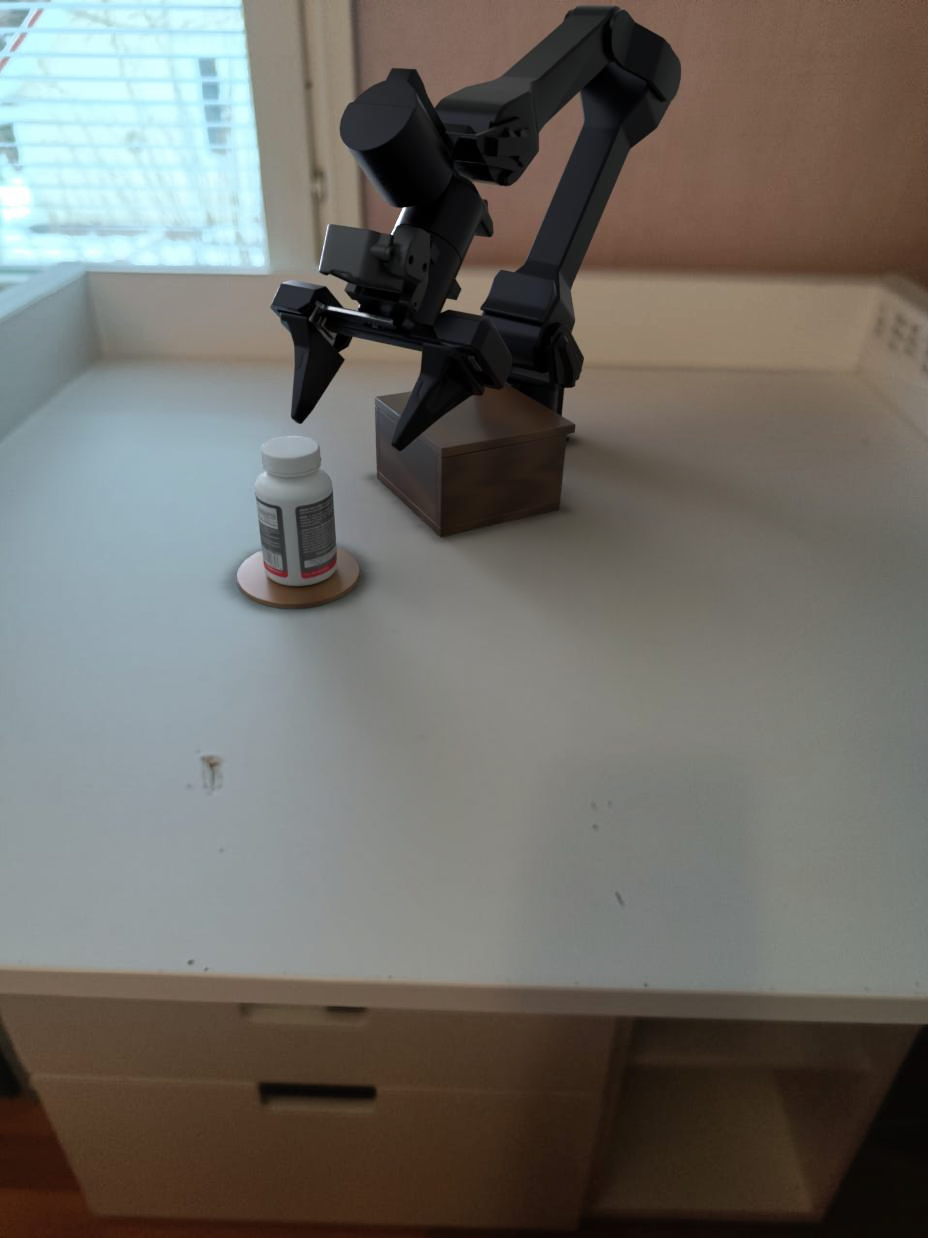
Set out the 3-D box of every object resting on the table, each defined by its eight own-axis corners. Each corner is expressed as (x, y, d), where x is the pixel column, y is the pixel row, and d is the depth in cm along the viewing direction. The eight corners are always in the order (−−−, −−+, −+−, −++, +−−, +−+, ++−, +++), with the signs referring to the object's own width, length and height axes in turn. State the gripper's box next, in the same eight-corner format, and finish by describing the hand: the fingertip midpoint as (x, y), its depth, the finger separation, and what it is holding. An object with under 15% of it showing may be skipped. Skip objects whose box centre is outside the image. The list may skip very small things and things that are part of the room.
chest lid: (497, 386, 81) (497, 377, 81) (575, 433, 72) (576, 423, 72) (374, 405, 76) (374, 396, 76) (441, 458, 67) (441, 448, 67)
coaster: (333, 537, 70) (333, 532, 70) (379, 590, 64) (379, 585, 64) (222, 561, 67) (221, 557, 66) (259, 620, 60) (258, 615, 60)
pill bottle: (338, 551, 68) (331, 430, 62) (337, 587, 63) (329, 461, 58) (267, 553, 67) (253, 431, 62) (261, 590, 63) (246, 462, 57)
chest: (486, 456, 85) (489, 387, 81) (559, 509, 76) (567, 434, 72) (376, 477, 80) (374, 405, 76) (440, 537, 71) (441, 458, 67)
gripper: (274, 161, 63) (182, 353, 61) (500, 188, 55) (403, 409, 53) (347, 258, 73) (270, 426, 71) (547, 292, 65) (466, 481, 63)
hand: (344, 434), depth 65 cm, fingers open, 9 cm apart
